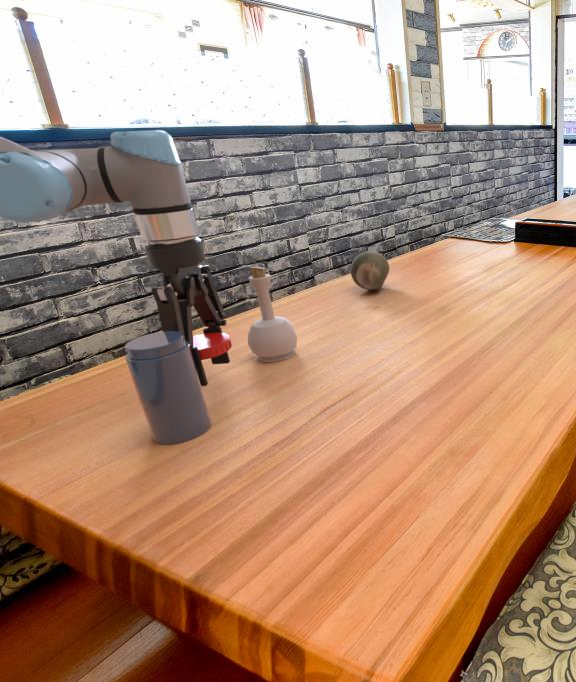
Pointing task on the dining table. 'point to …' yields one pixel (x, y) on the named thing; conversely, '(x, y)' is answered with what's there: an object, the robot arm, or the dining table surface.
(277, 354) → the potion bottle
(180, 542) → the dining table surface
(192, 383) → the grey storage canister
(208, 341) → the lid
